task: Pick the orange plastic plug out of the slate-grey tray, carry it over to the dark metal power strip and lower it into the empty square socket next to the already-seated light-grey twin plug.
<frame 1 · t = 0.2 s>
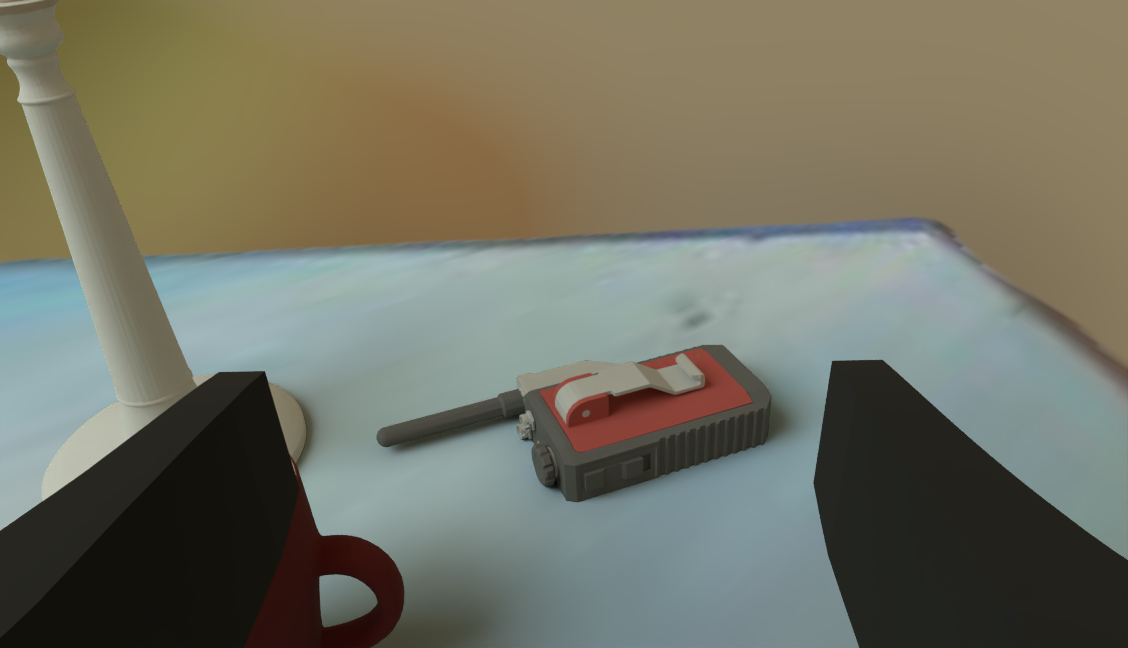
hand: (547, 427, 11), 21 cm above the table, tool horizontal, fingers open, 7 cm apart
walkie-talkie: (583, 448, 44), on the table
candlestick: (182, 459, 44), on the table
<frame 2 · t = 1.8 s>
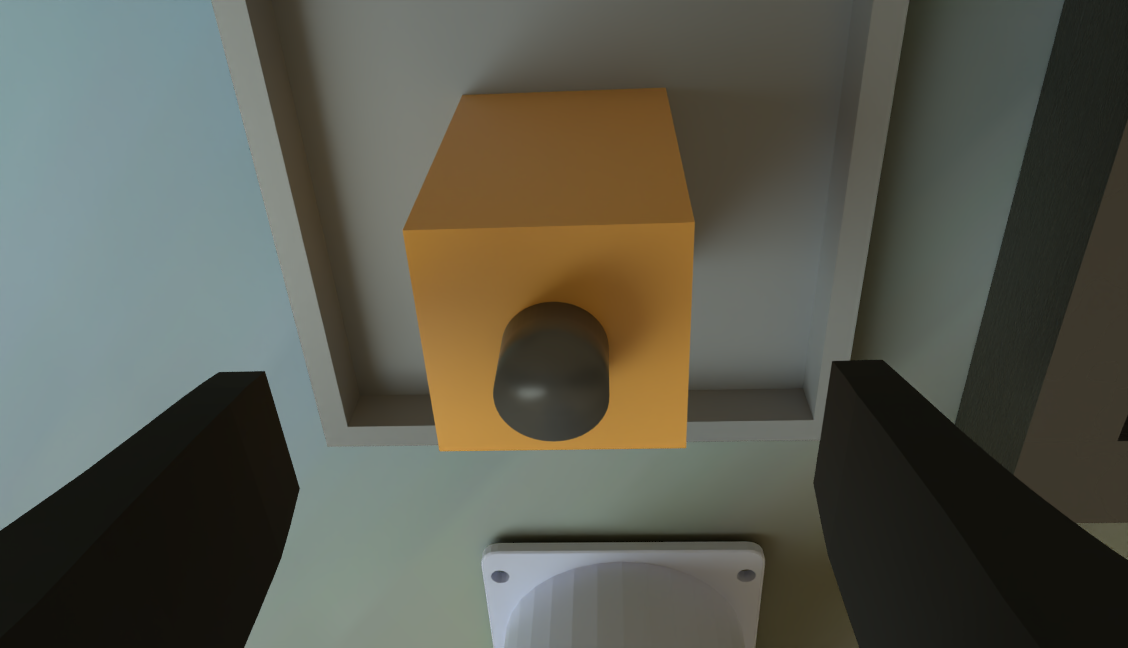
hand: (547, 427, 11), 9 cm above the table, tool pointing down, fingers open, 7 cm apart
plug: (567, 185, 18), point 1 cm above the table, touching tray
tray: (568, 174, 18), on the table
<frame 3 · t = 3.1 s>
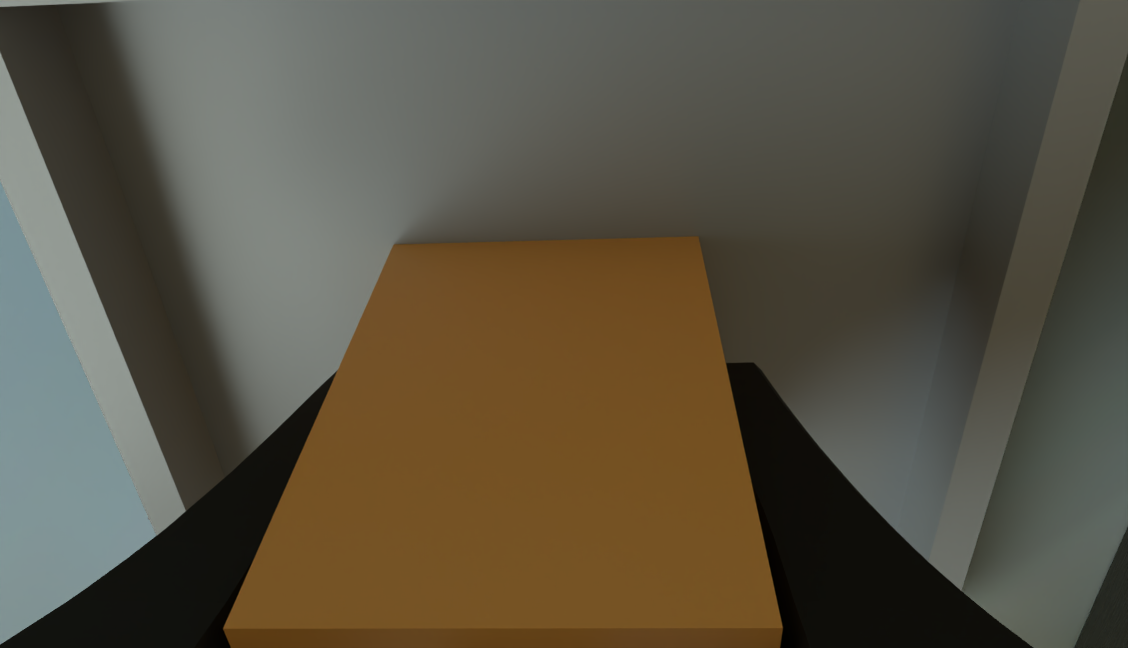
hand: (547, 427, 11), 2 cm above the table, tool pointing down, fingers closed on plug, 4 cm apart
plug: (552, 364, 12), point 1 cm above the table, touching gripper, tray
tray: (554, 341, 13), on the table
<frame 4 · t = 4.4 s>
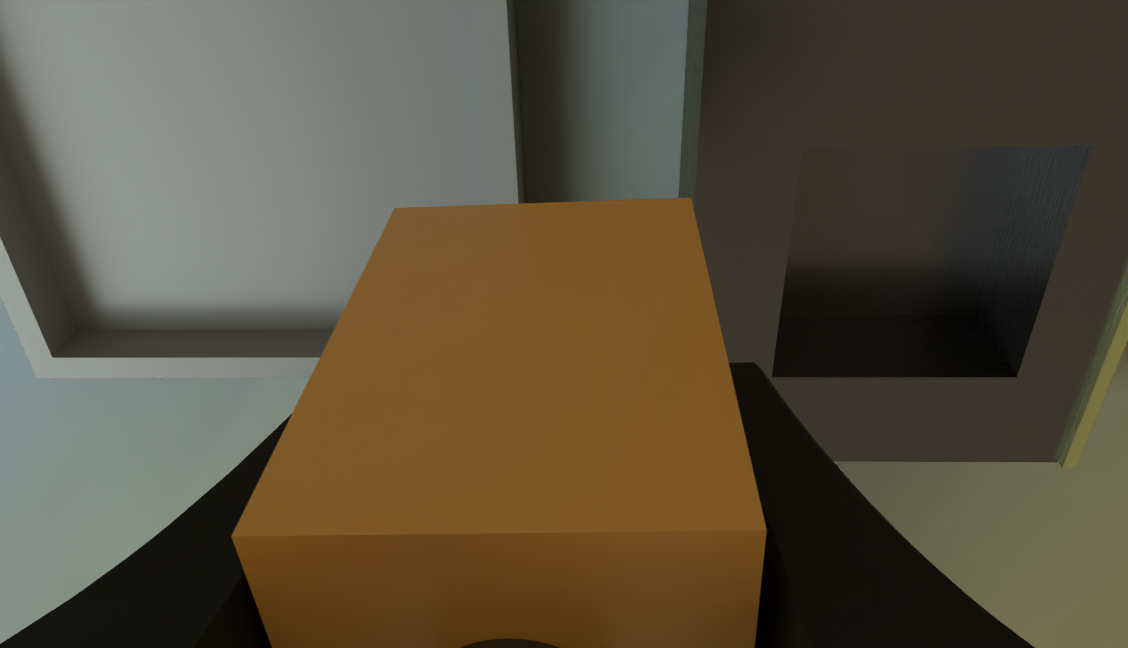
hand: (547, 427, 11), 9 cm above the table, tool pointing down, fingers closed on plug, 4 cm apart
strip: (915, 1, 17), on the table
plug: (550, 328, 12), point 7 cm above the table, touching gripper
tray: (249, 109, 19), on the table
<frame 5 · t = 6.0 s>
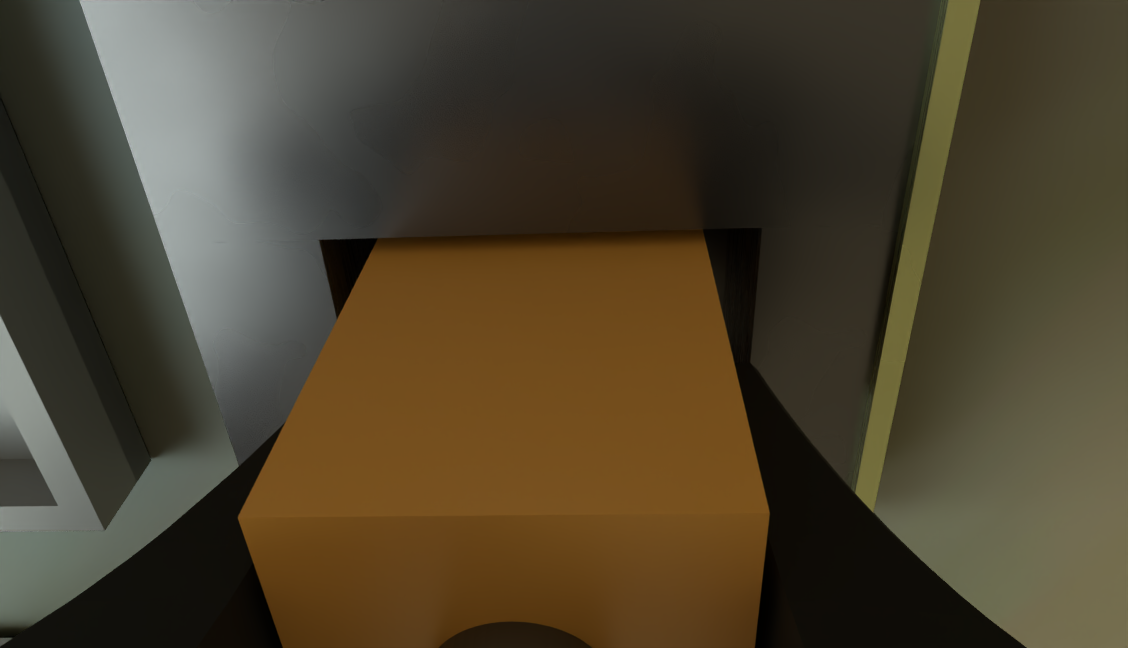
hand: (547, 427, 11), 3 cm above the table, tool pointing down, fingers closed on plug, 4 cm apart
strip: (541, 6, 11), on the table
plug: (552, 320, 12), point 1 cm above the table, touching gripper
when the fingers open (3 cm above the table, at t = 6.1 s): plug stays where it is, resting on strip.
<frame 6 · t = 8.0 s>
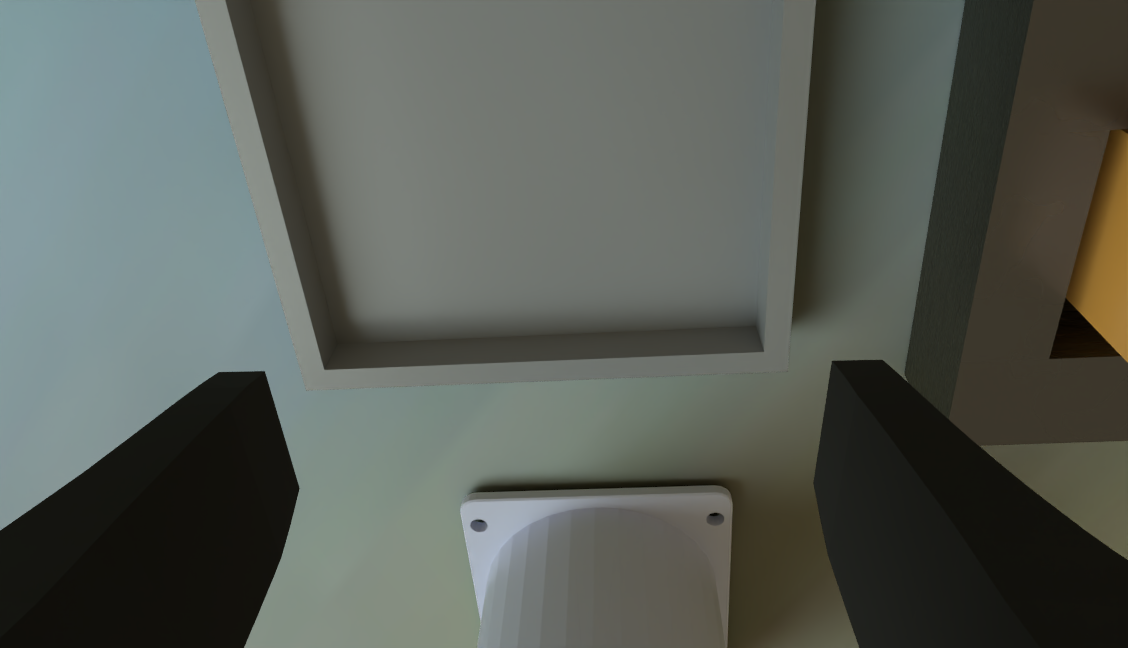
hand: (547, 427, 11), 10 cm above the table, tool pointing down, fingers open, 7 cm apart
tray: (523, 122, 19), on the table
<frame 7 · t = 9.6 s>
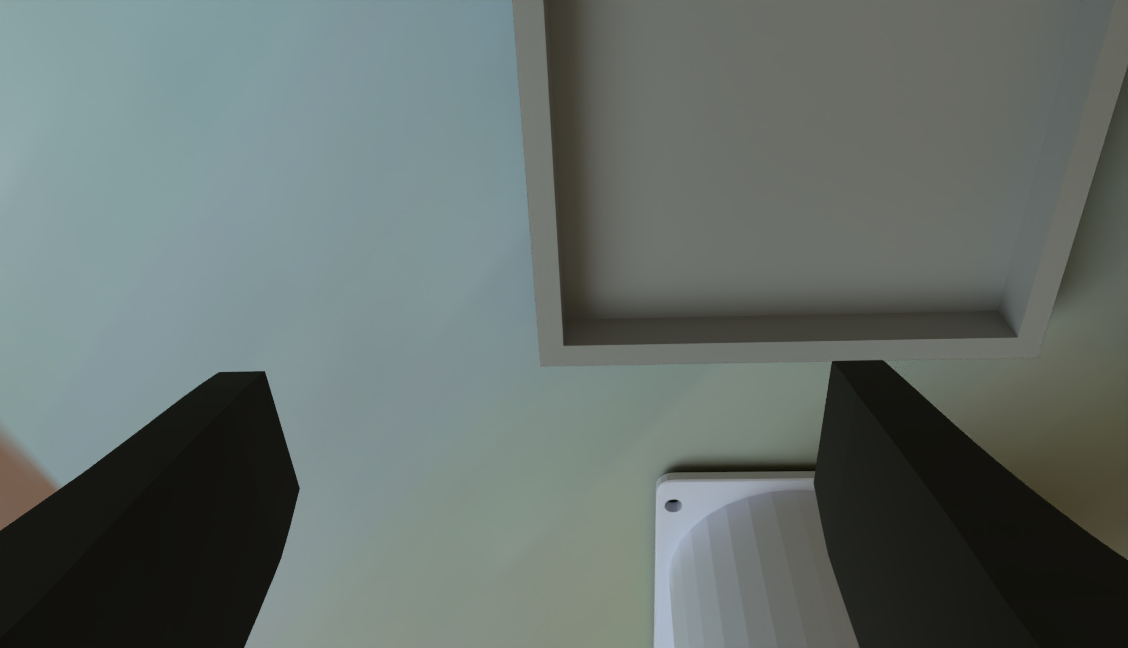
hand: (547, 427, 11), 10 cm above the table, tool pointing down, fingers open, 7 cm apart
tray: (794, 97, 19), on the table
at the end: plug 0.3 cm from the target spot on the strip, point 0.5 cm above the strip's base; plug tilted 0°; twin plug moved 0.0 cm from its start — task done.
